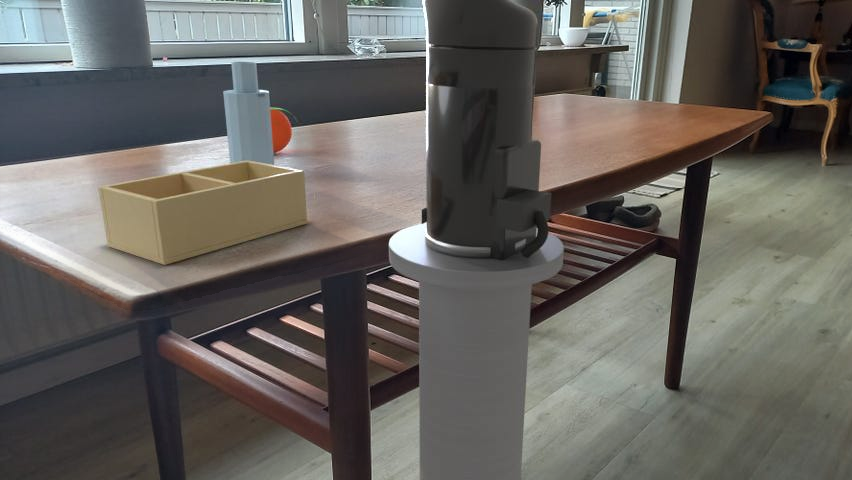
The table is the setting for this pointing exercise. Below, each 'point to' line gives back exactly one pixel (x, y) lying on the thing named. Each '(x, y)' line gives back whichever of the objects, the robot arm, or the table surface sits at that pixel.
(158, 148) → the table surface
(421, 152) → the table surface
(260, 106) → the bottle
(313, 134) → the table surface
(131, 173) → the table surface
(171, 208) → the holder
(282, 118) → the clementine
